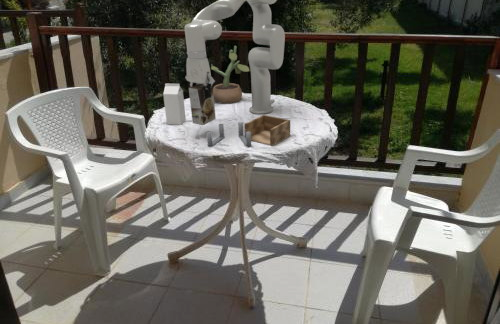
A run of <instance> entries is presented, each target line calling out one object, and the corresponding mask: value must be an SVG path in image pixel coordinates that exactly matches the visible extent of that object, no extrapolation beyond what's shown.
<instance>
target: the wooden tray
mask: <svg viewBox="0 0 500 324" xmlns="http://www.w3.org/2000/svg"><path fill="white" fill-rule="evenodd" d="M243 126H244V136H245V138H246V132H248V131H250V132H251V142H255V143H257V144H258V143H260V144H263V145H267V146H271V147H272V146H274V145H276V144H278V143H280V142H282V141H284V140H285V139H287V138H289V137H290V136H291V119H286V118H281V117H276V116H271V115H268V114H267V115H266V114H261V115H260V116H257V117H255V118H254V119H252V120H250V121H248V122H245V123H244V124H243Z"/></svg>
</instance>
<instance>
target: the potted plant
mask: <svg viewBox="0 0 500 324" xmlns="http://www.w3.org/2000/svg"><path fill="white" fill-rule="evenodd" d="M237 48H238V47H237V46H236V45H234V46H233V49H230V50H229V51H228V53H229V54H228V59H230V63H229V64H228V66H227V69H226V70H225V72H223V71H221V70H220V69H219V68H218V67H216V66H214V65H213V63H210V70H212V71H214V72H216V73H217V74H219V75H221V76H222V77H223V81H222V83H219V84H216V85H214V86H213V96H214V102H216V103H218V104H234V103H237V102H239V101H240V100H241V99H242V97H243V91H242V88H241V87H240V85H239V84H236V83H231V82H230V76H231V74H232V73H231V72H232V71H233V70H235V74H237V75H238V74H241V73H242V72H251V69H250V66H247V65H246V64H242V63H241V64H240V60H237V59H238V55H237Z"/></svg>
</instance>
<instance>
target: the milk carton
mask: <svg viewBox="0 0 500 324" xmlns="http://www.w3.org/2000/svg"><path fill="white" fill-rule="evenodd" d="M180 85H181V84H180V83H165V84H164V90H163V94H162V95H163V96H162V97H163V102H164V103H163V104H164V111H165V112H164V113H165V120H166V125H178V126H179V125H182V124H183V123H184V122H185V121H186V120H187V118H186V110H185V109H186V108H185V99H184V98H185V97H184V90H183V89H182V87H181V86H180Z"/></svg>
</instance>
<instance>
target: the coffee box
mask: <svg viewBox="0 0 500 324" xmlns="http://www.w3.org/2000/svg"><path fill="white" fill-rule="evenodd" d="M206 85H207V83H206ZM213 88H214V86H212V87H211V88H210V90H211V97H210V98H208V99H205V93H204V90H205V87H204V85H203V84H196V85H195V86H192V87H190V86H189V87H188V93H189V94H188V95H189V102H190V111H191V120H192V124H194V125H199V126H200V125H201V126H205V125H207V124H209V123H210V122H212V121H215V120H216V119H217V118H216V108H215V107H216V106H215V101H214V96H213Z"/></svg>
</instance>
